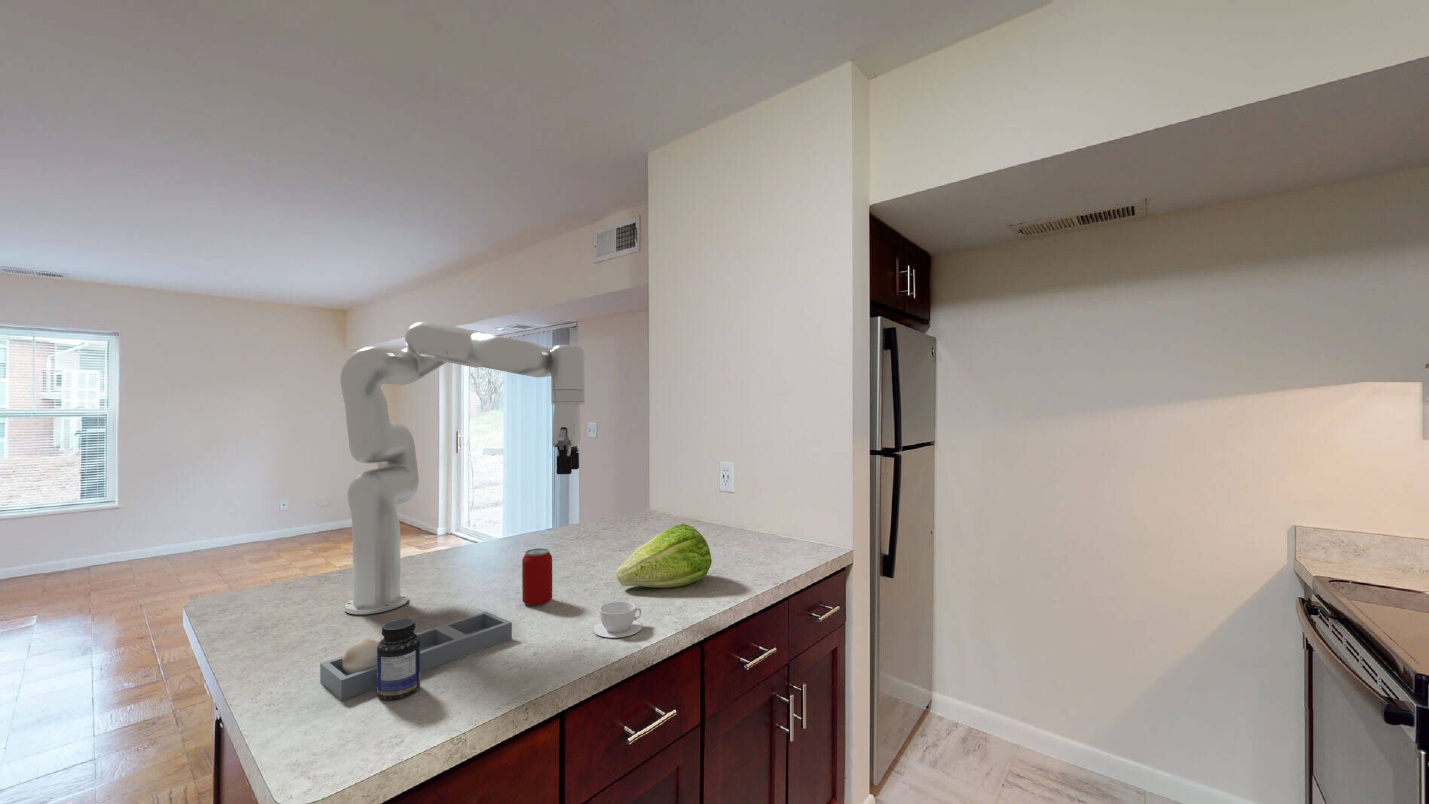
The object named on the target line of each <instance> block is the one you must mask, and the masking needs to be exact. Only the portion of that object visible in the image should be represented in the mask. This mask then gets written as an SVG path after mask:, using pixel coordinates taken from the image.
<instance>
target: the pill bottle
mask: <svg viewBox="0 0 1429 804" xmlns="http://www.w3.org/2000/svg"><path fill="white" fill-rule="evenodd" d="M415 630H416V620H415V619H412V618H407V617H406V618H405V617H404V618H399V619H398V618H397V619H393V620H390V621H388V622H385V623H384V624H383V625H382V626H381V636H382V637H383V638H382V639H381V640H380V641H379V642H378V643H379V644H378V646H377V688H376V690H377V691H376V694H377V696H378V699H380V700H384V701H394V700H400V699H404V698H407V697H409V696H411V695H413V694H414V693H415V692H417V690H418V689H419V688H420V686H421V672H420V638H419V636H418V635H417V634H416V632H415Z"/></svg>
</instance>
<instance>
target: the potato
mask: <svg viewBox="0 0 1429 804" xmlns="http://www.w3.org/2000/svg"><path fill="white" fill-rule="evenodd" d="M378 644H379V642H378V641H377V640H374V639H369V638H364V639H360V640H358V641H356V642H354V643H352V644H351V645H350V646H348V648H346V651H345V652H344V653H343V655H342V656H343V659H342V667H343V669H344V671H345V673H346V674H347V675H351V674H354V673H357V672H360V671H363V670H366V669H369V668H372V667H374V666H377V646H378Z"/></svg>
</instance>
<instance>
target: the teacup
mask: <svg viewBox="0 0 1429 804" xmlns="http://www.w3.org/2000/svg"><path fill="white" fill-rule="evenodd" d="M637 611H638V613H637V615H636V612H637ZM641 615H642V609H641V608H640V607H638V606H636V604H634V603H633V602H630V601H624V600H622V601H621V600H620V601H611V602H607V603H604V604H602V605H601V606H600V607H599V617H600V621H601V622H599V623H598V624H596V625H595V626H594V627H593V629H592V630H593V633H594V634H595V635H597V636H600V637H602V638H603V637H604V638H610V639H614V638H616V639H617V638H623V637H624V638H626V637H629V636H632V635H634V634H637V633H638V632H640V631H641V630H642V628H643V625H642V622H640V621H638V619H639V618H640V617H641Z"/></svg>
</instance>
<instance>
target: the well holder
mask: <svg viewBox="0 0 1429 804" xmlns="http://www.w3.org/2000/svg"><path fill="white" fill-rule="evenodd" d="M415 634H417V635H418V636H419V638H420V673H421V672H424V671H426V670H429V669H432V668H436V667H437V666H438V667H439V666H441V665H443V664H446V663H449V662H452V661H454V660H457V659H460V658H463V657H465V656H467V655H470V654H474V653H477V652H479V651H482V650H485V649H487V648H491V647H493V646H495V645H498V644H500V643H503V642H506V641H509V640H511V639H513V623H512V621H509V620H508V619H505V618H502V617H500V616H497V615H496V614H493V613H491V612H488V611H484V612H481V613H476V614H473V615H471V616H467V617H465V618H461V619H458V620H455V621H451V622H448V623H446V624H442V625H439V626H435V627H432V628H429V629H426V630H422V631H420V632H419V631H418V632H417V633H416V632H415ZM343 656H344V655H342V656H339V657H336V658H332V659H330V660H326V661H323V662H320V663H319V664H320V665H319V673H320V675H319V680H320V681H319V682H320V684H322V685H323V686H324V687H325V688H326V689H327V690H329V692H331V693H332V694H333V695H334V696H335V697H337V698H338V699H339V700H340V701H345V700H347V699H351V698H353V697H356V696H359V695H361V694H364V693H366V692H370V691H372V690H375V689H377V666H374V667H372V668H369V669H366V670H363V671H360V672H357V673H354V674H351V675H347V674H346V673H345V671H344V669H343V667H342V659H343Z"/></svg>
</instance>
